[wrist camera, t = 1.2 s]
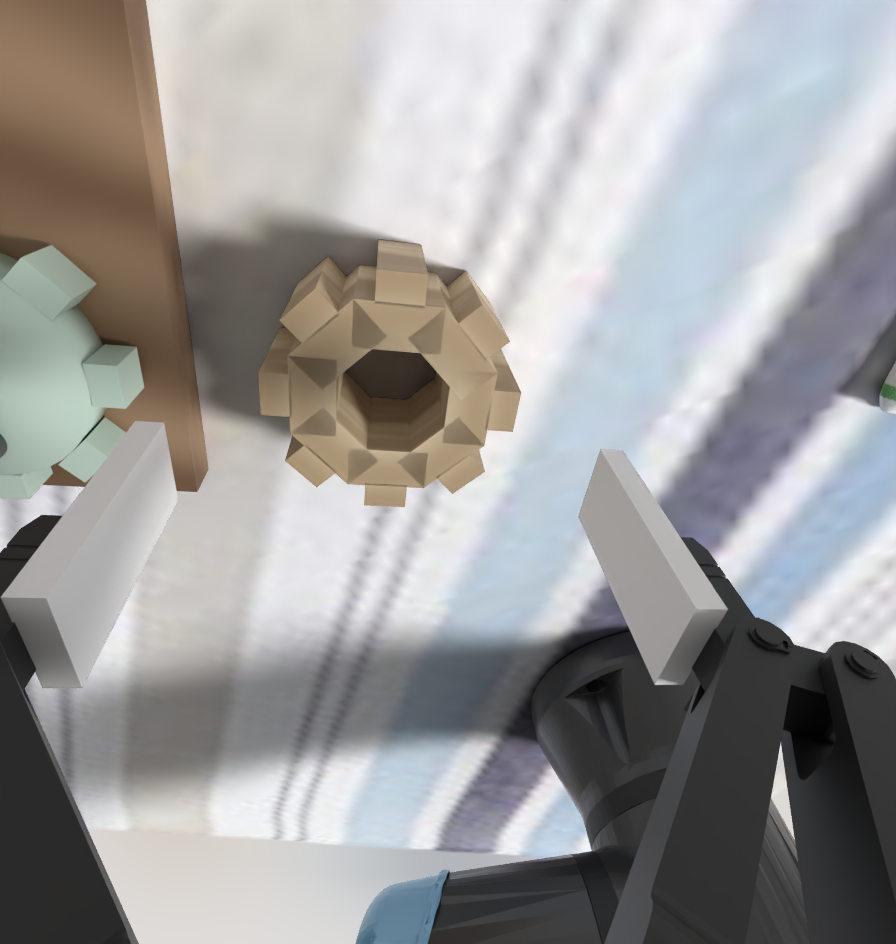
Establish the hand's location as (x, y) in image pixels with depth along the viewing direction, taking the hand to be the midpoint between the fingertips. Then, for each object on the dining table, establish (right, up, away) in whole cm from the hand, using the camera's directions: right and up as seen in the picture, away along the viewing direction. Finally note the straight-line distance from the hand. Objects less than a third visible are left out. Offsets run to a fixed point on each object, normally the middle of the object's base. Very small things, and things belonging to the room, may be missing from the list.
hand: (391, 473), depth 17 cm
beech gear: (-1, +6, +9) cm, 11 cm away
